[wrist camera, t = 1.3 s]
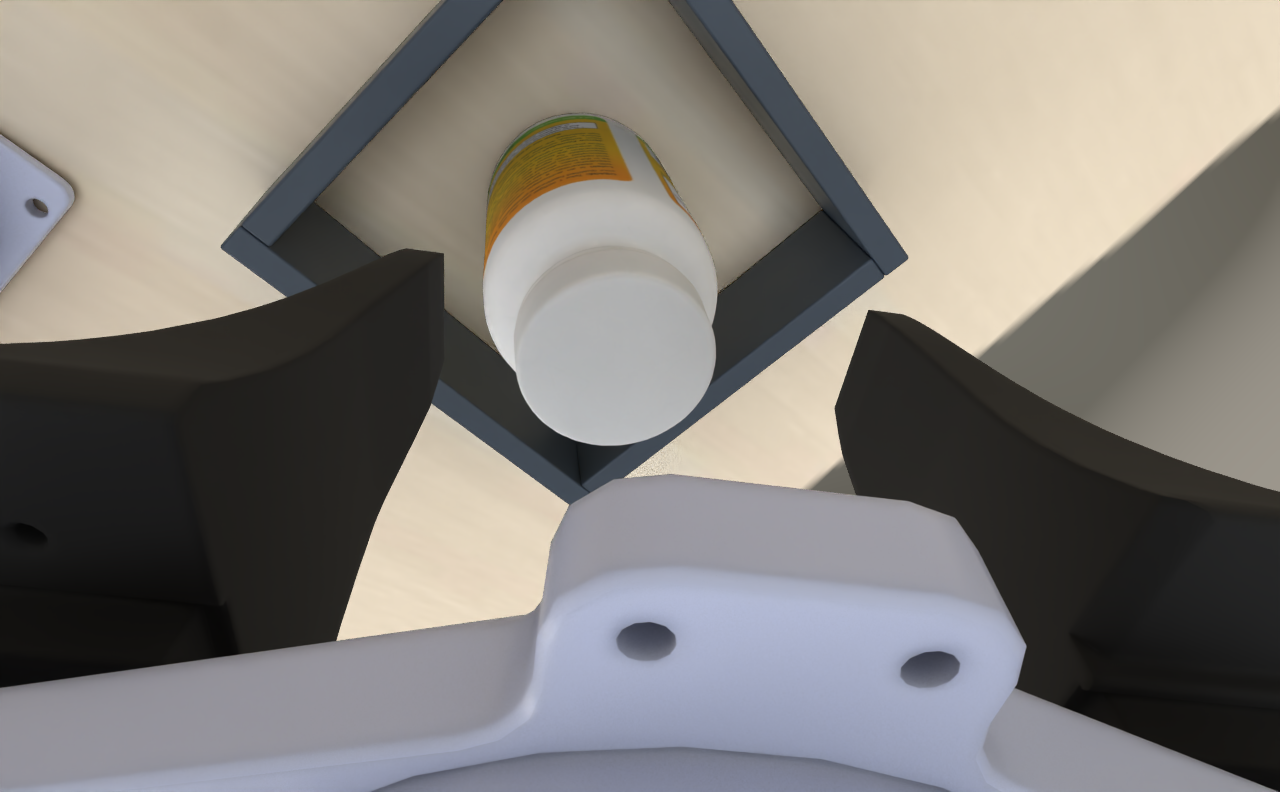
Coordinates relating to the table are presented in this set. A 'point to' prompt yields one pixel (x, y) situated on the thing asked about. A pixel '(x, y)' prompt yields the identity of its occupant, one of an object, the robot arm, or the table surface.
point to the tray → (745, 311)
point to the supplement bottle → (597, 282)
